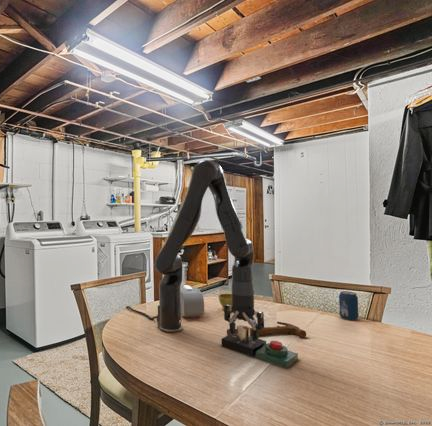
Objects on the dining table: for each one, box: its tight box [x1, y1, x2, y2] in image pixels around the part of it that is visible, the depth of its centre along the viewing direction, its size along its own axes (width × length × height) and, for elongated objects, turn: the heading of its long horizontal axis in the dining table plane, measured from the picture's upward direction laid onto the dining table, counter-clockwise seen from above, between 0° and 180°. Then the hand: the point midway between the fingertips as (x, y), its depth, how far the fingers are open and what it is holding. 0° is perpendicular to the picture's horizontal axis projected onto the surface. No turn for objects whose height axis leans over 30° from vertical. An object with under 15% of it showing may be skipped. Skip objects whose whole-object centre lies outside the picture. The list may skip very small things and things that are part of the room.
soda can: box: [338, 290, 359, 322], centre depth 141 cm, size 7×7×12 cm
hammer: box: [226, 321, 307, 339], centre depth 125 cm, size 12×3×30 cm
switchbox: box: [255, 342, 299, 369], centre depth 103 cm, size 10×9×4 cm
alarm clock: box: [180, 284, 205, 318], centre depth 153 cm, size 21×10×13 cm, turn 179°
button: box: [269, 340, 283, 350], centre depth 103 cm, size 4×4×2 cm
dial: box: [236, 324, 251, 342], centre depth 112 cm, size 4×4×5 cm
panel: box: [221, 332, 267, 358], centre depth 112 cm, size 12×10×3 cm
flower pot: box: [217, 293, 233, 312], centre depth 157 cm, size 10×10×7 cm
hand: (243, 336), depth 112 cm, fingers open, 8 cm apart
